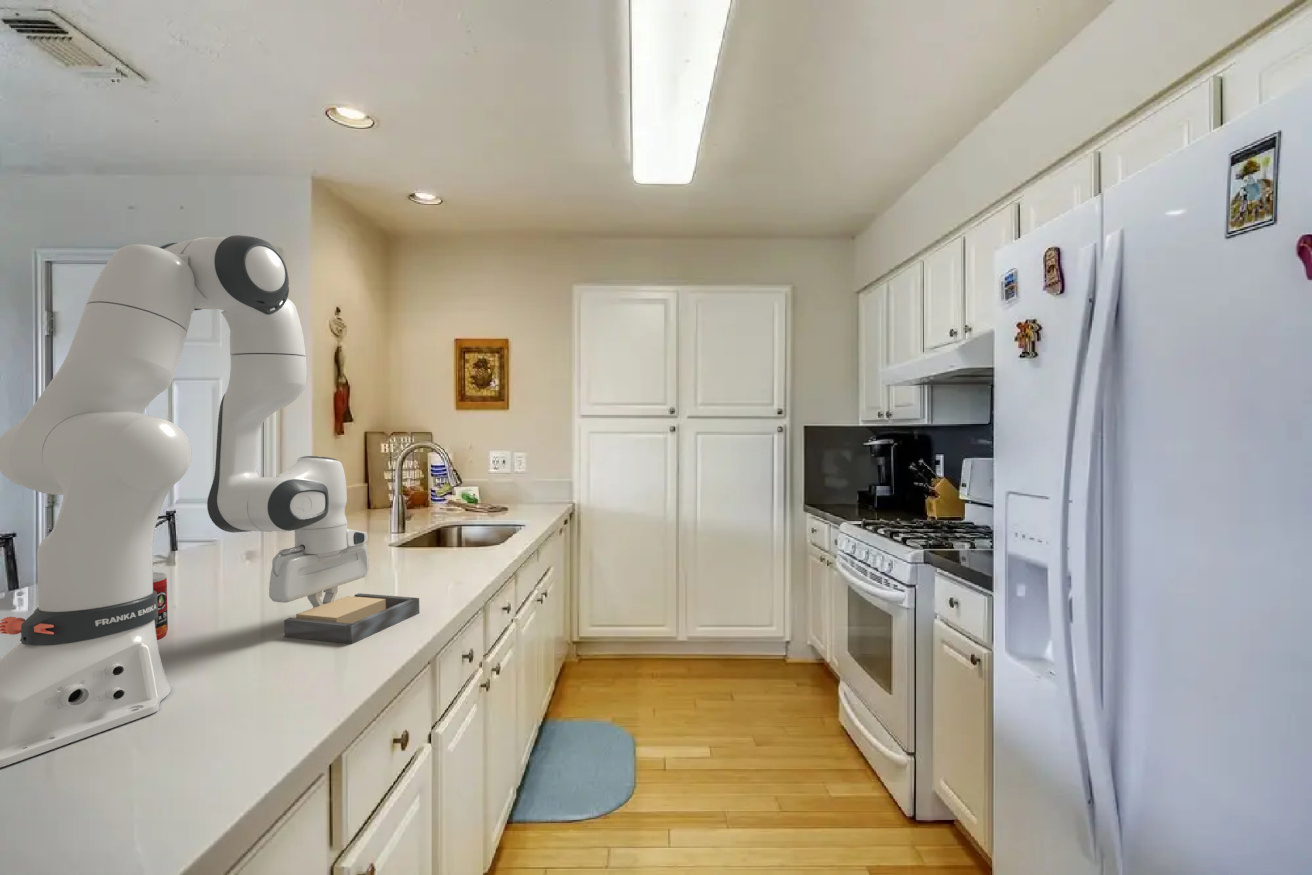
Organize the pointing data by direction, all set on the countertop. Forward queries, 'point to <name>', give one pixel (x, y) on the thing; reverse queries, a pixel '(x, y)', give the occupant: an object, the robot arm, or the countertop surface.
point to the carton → (345, 610)
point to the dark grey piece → (358, 630)
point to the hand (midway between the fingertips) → (323, 612)
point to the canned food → (161, 603)
